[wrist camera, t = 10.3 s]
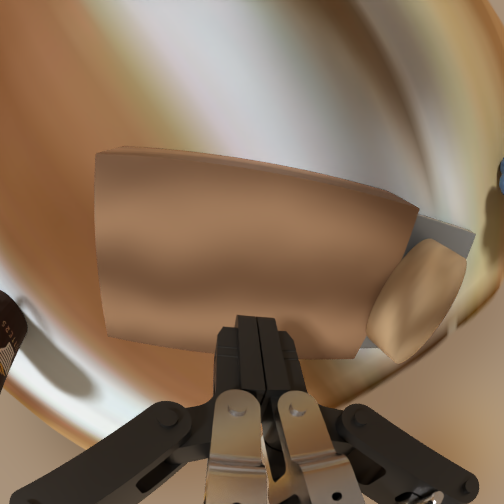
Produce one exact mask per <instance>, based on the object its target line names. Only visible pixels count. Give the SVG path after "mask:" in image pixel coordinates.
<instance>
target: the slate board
mask: <svg viewBox="0 0 504 504" xmlns="http://www.w3.org/2000/svg"><path fill="white" fill-rule="evenodd" d="M475 235H476V234H475V233H473V232H472V231H470V230H467V229H464V228H461V227H458V226H455V225H452V224H449V223H446V222H443V221H440V220H437V219H433V218H430V217H427V216H424V215H420V214H418V215H417V219H416V222H415V224H414V227H413V230H412V233H411V236H410V239H409V241H408V244H407V247H406V250H405V252H404V255H403V257H402V259H403V258H404V257H405V256H406V255H407V253H408V252H409V251H410V250H411V249H412V248H413V247H415V246H416V245H417V244H418V243H420V242H421V241H423V240H425V239H433V240H435V241H437V242H439V243H440V244H442V245H444V246H445V247H447V248H449V249H451V250H452V251H454V252H456V253H457V254H459V255H460V256H462V257H464V258H465V259H466V258H467V256H468V253H469V251H470V248H471V246H472V243H473V241H474V238H475ZM360 348H379V347H377V346H376V345H375V344H374V343H373V342H372V341H371V340H370V339H369V338H368V337H367V336H366V338H365V340H364V341H363V343H362V345H361V347H360Z"/></svg>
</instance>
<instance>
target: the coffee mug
mask: <svg viewBox="0 0 504 504" xmlns="http://www.w3.org/2000/svg"><path fill="white" fill-rule="evenodd" d="M26 333H27V323H26V320H25V317H24V315H23V313H22V312H21V310H20V308H19V307H18V306H17V304H16V303H15V302H14V301H13V300H12V299H11V298H10V297H9V296H8V295H7V294H6V293H4V292H3V291H1V290H0V393H1V390H2V387H3V385H4V382H5V380H6V377H7V375H8V372H9V370H10V368H11V365H12V363H13V361H14V358H15V356H16V354H17V352H18V350H19V348H20V346H21V343H22V341H23V339H24V337H25V335H26Z"/></svg>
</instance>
